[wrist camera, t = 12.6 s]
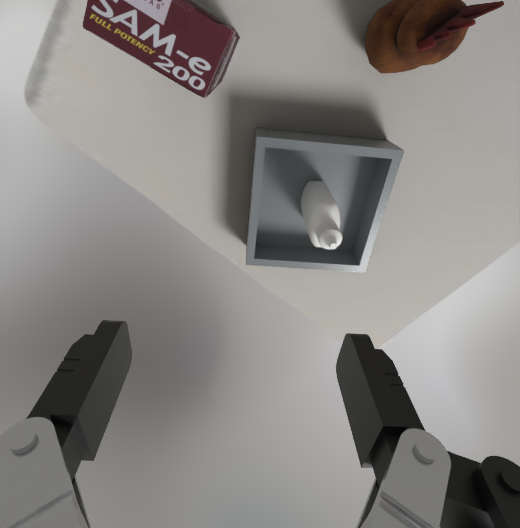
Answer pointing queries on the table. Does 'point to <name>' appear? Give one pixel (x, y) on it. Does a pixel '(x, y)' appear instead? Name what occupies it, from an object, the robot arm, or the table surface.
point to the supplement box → (167, 38)
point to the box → (339, 184)
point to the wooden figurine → (419, 32)
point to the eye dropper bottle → (321, 215)
